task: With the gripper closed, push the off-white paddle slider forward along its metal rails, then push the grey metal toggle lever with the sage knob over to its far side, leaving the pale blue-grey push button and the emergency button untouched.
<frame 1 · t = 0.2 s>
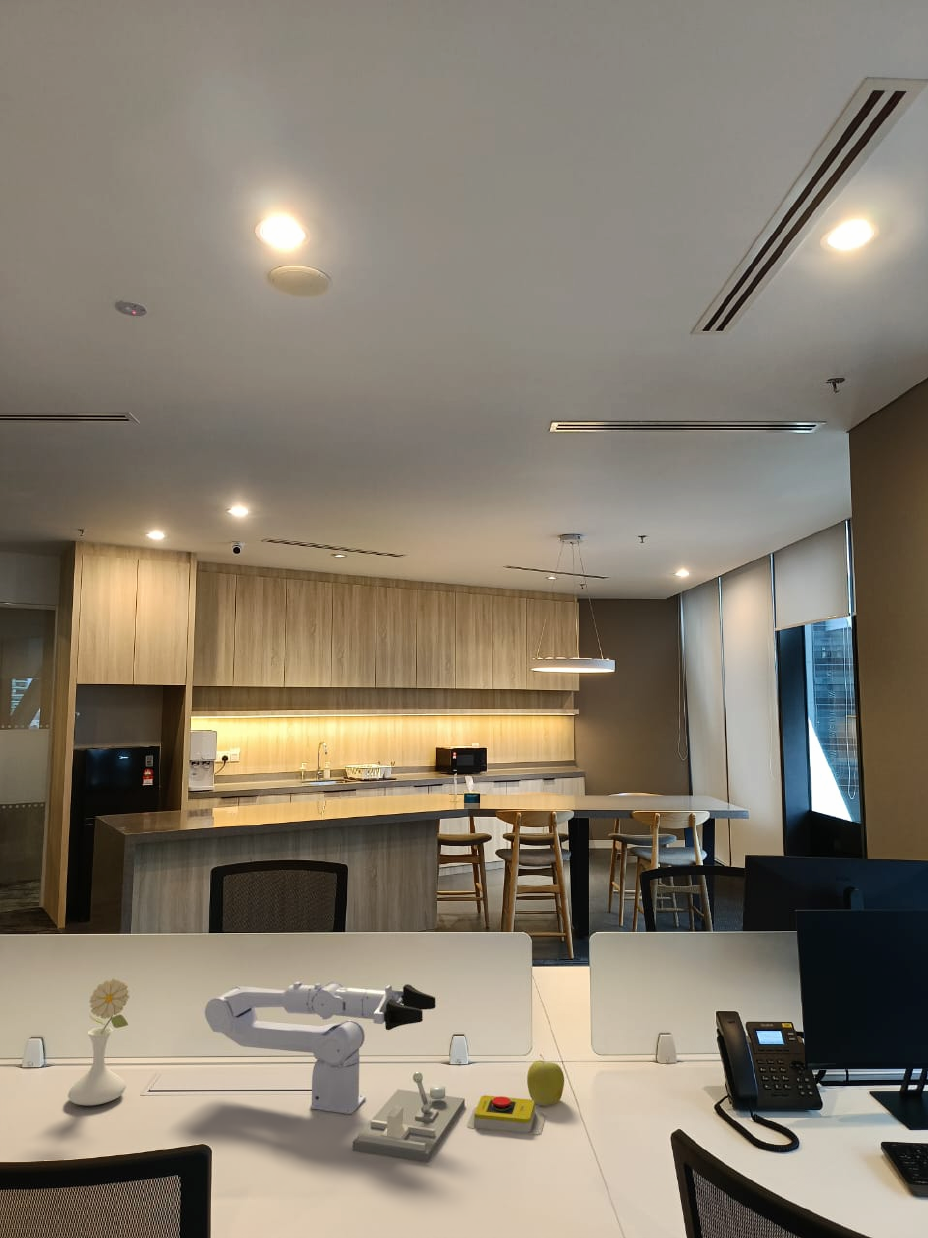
hand: (428, 1009, 177), 21 cm above the table, tool horizontal, fingers open, 7 cm apart
paddle slider: (395, 1124, 164), point 4 cm above the table, slide at 0.0 cm
flower in vase: (99, 1101, 182), on the table
apple: (545, 1103, 182), on the table
grey base plate: (411, 1127, 171), on the table
toggle lever: (422, 1092, 173), point 6 cm above the table, hinge at -20.0°
emergency button: (506, 1124, 174), on the table
push button: (437, 1092, 179), point 3 cm above the table, slide at 1.0 cm
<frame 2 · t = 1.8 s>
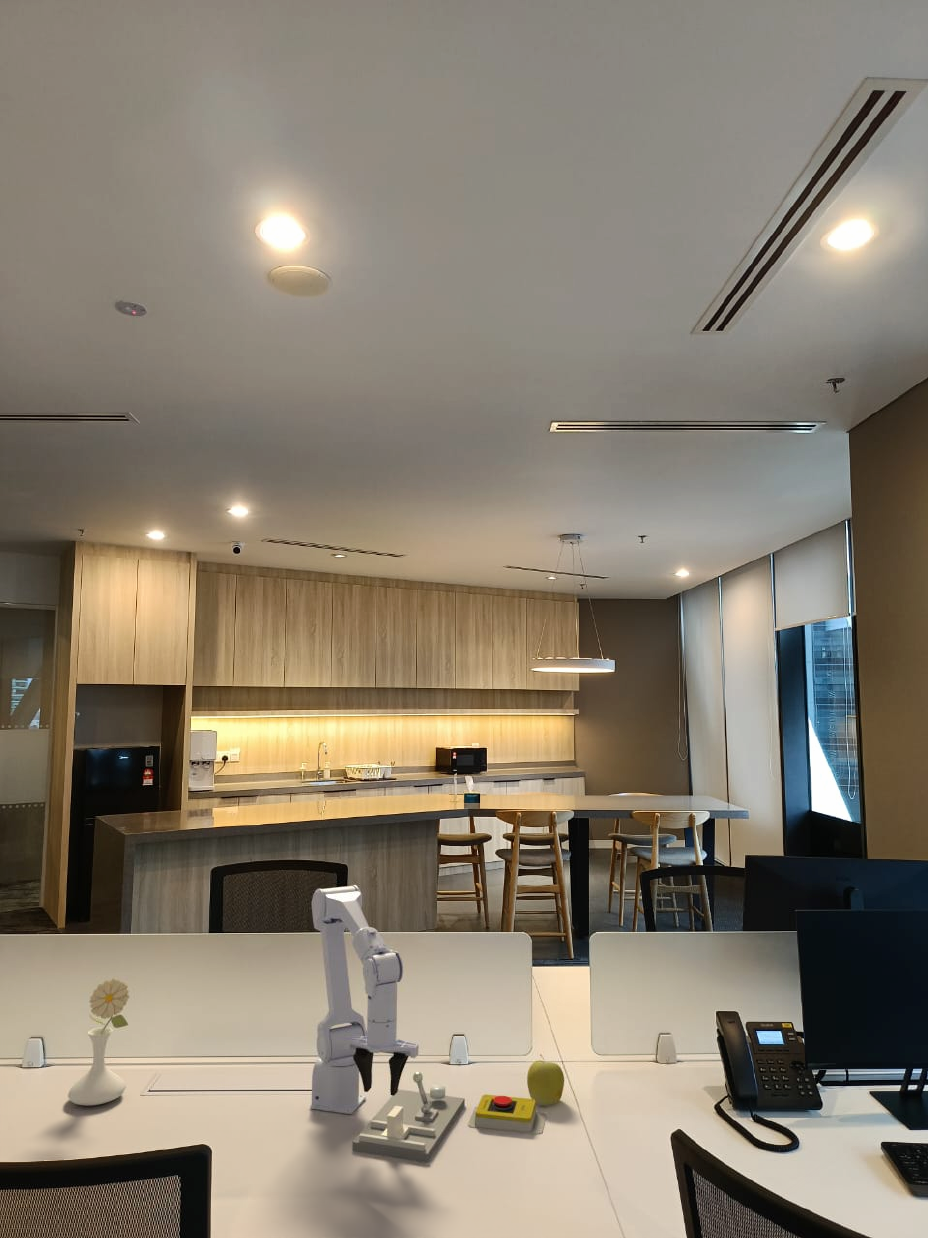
hand: (380, 1091, 165), 9 cm above the table, tool pointing down, fingers open, 5 cm apart
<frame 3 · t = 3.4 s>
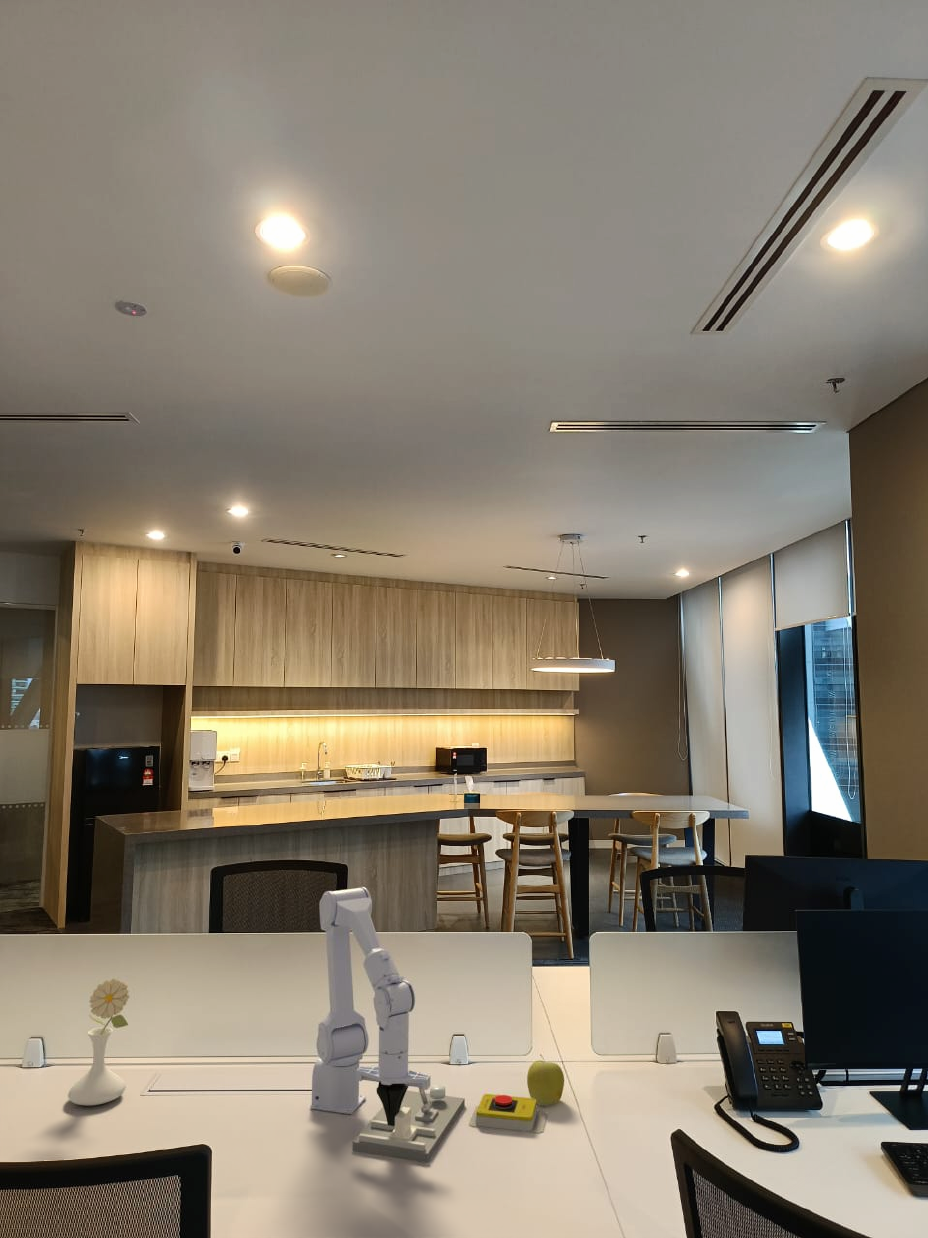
hand: (392, 1123, 164), 4 cm above the table, tool pointing down, fingers closed
paddle slider: (402, 1125, 163), point 4 cm above the table, slide at 1.6 cm, touching gripper
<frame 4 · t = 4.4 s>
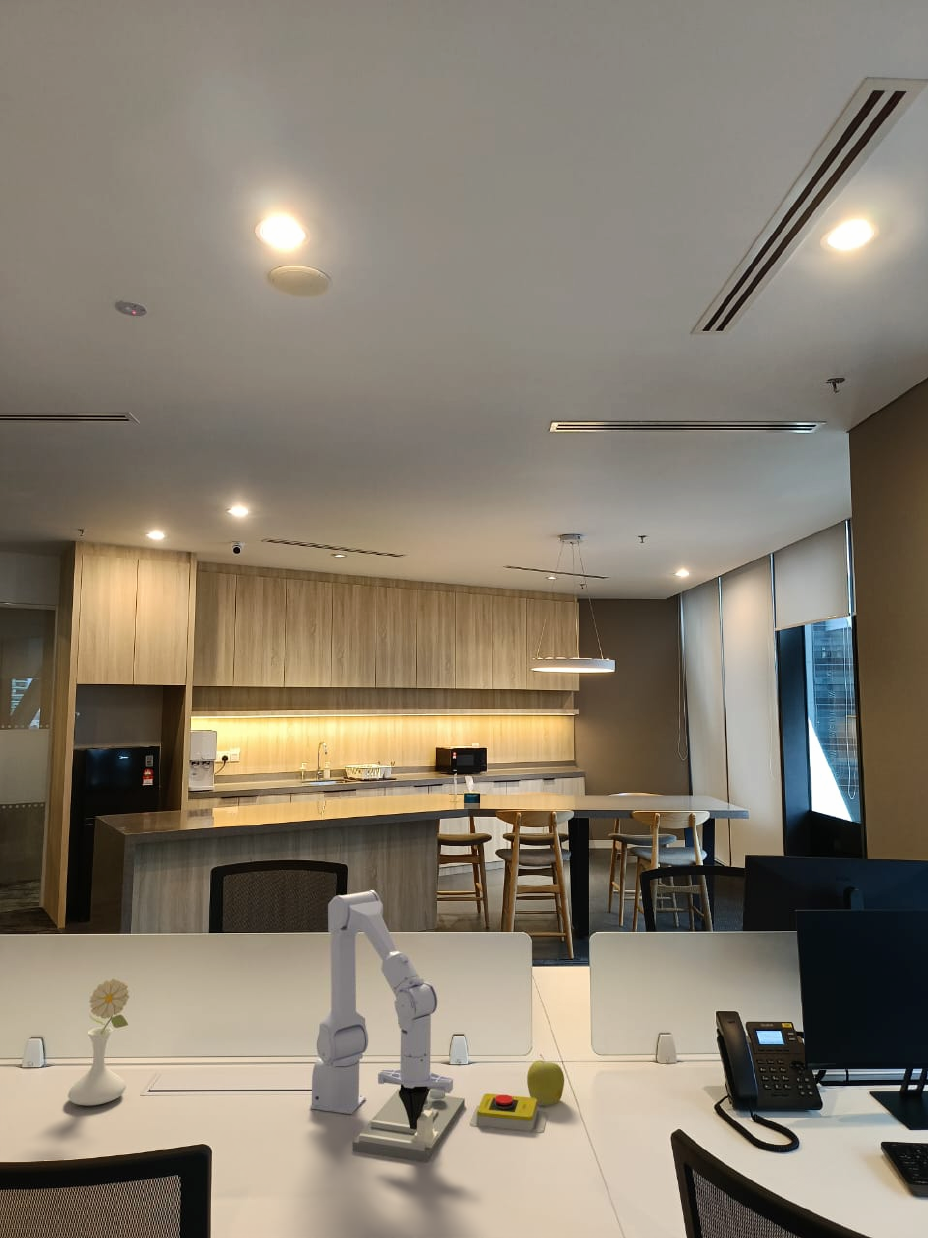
hand: (414, 1127, 163), 4 cm above the table, tool pointing down, fingers closed
paddle slider: (424, 1128, 162), point 4 cm above the table, slide at 6.0 cm, touching gripper
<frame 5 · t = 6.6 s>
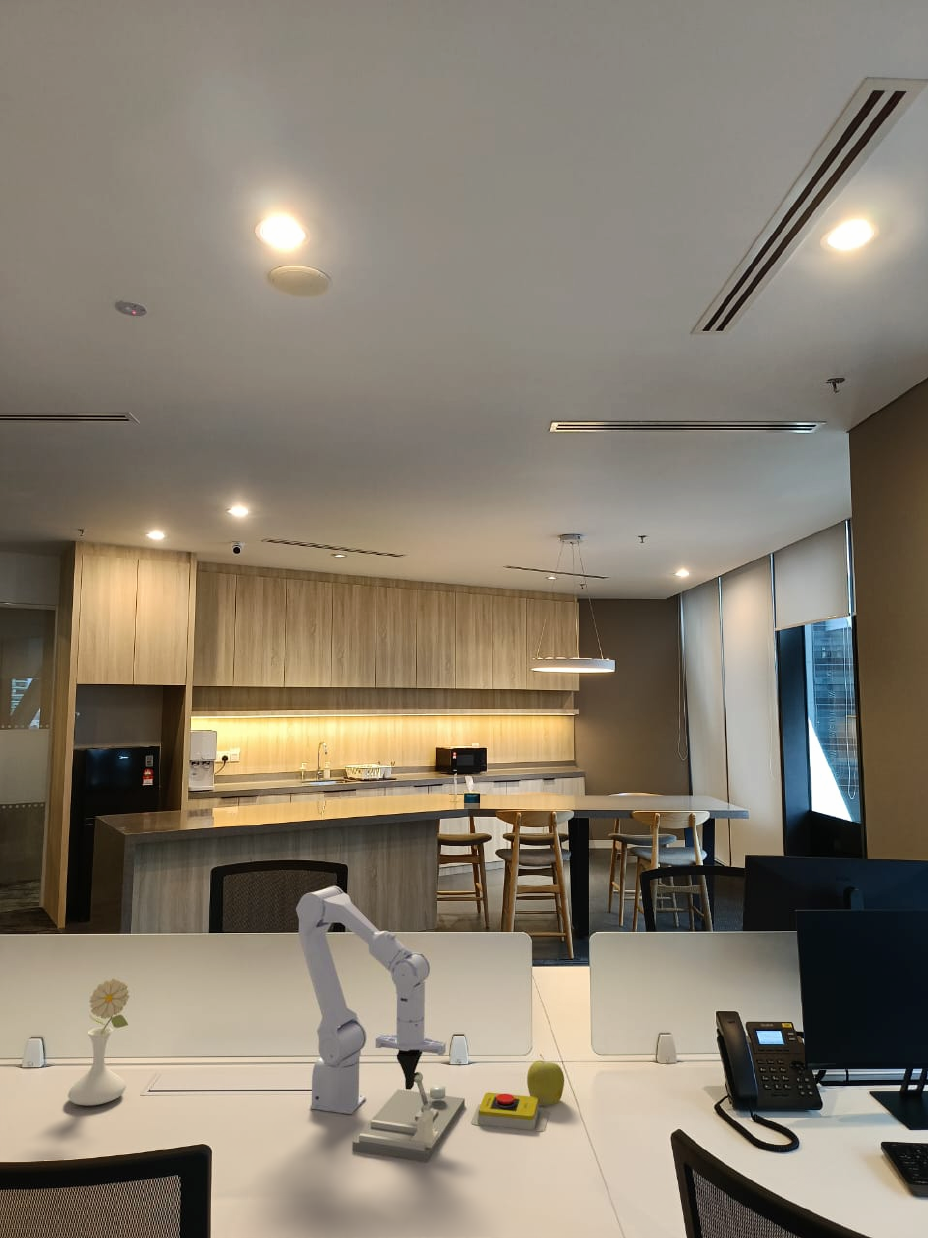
hand: (409, 1087, 174), 6 cm above the table, tool pointing down, fingers closed, pressing on toggle lever
paddle slider: (424, 1128, 162), point 4 cm above the table, slide at 6.0 cm
toggle lever: (422, 1092, 173), point 6 cm above the table, hinge at -19.7°, touching gripper
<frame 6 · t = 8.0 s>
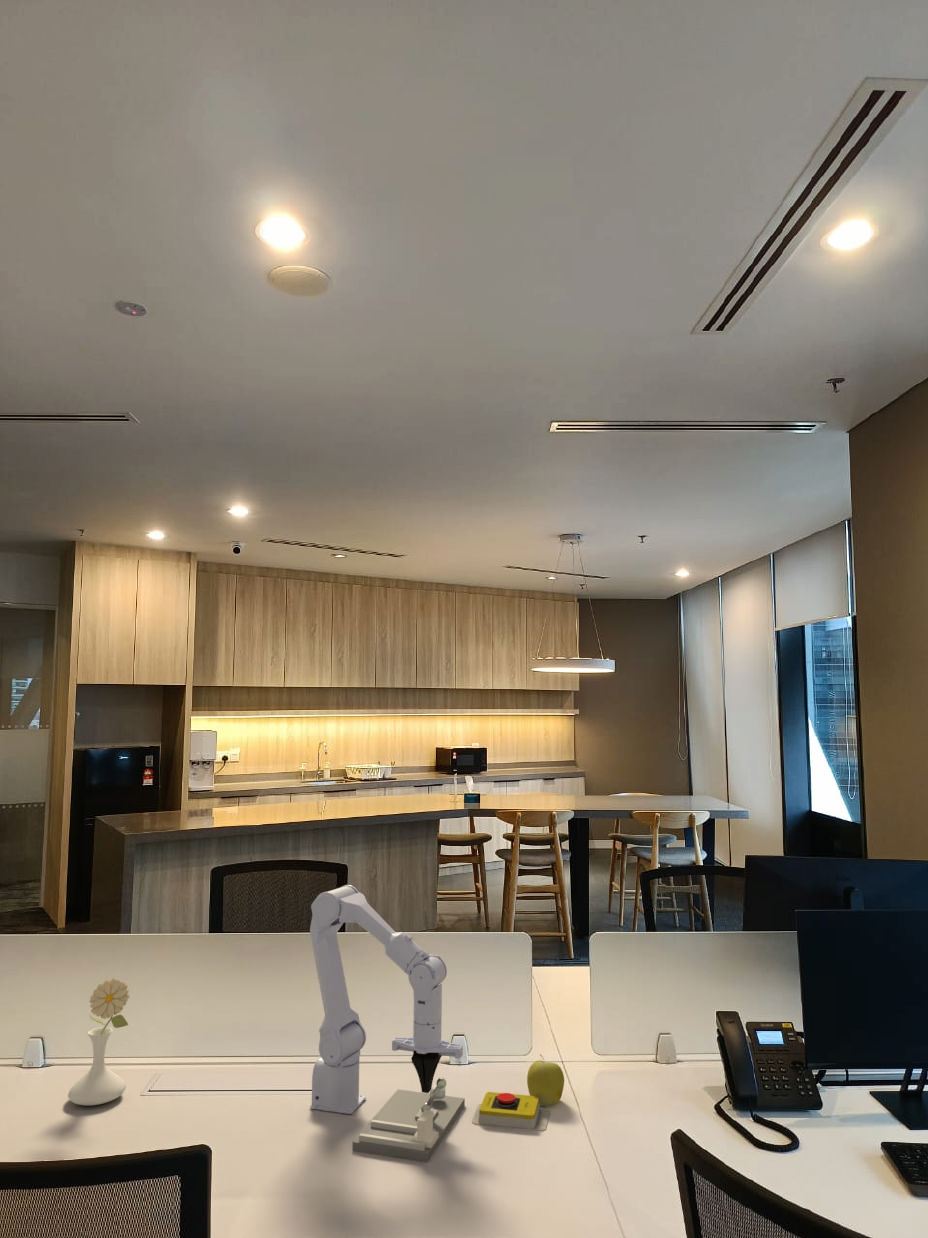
hand: (426, 1091, 173), 6 cm above the table, tool pointing down, fingers closed
toggle lever: (434, 1095, 172), point 6 cm above the table, hinge at 31.6°
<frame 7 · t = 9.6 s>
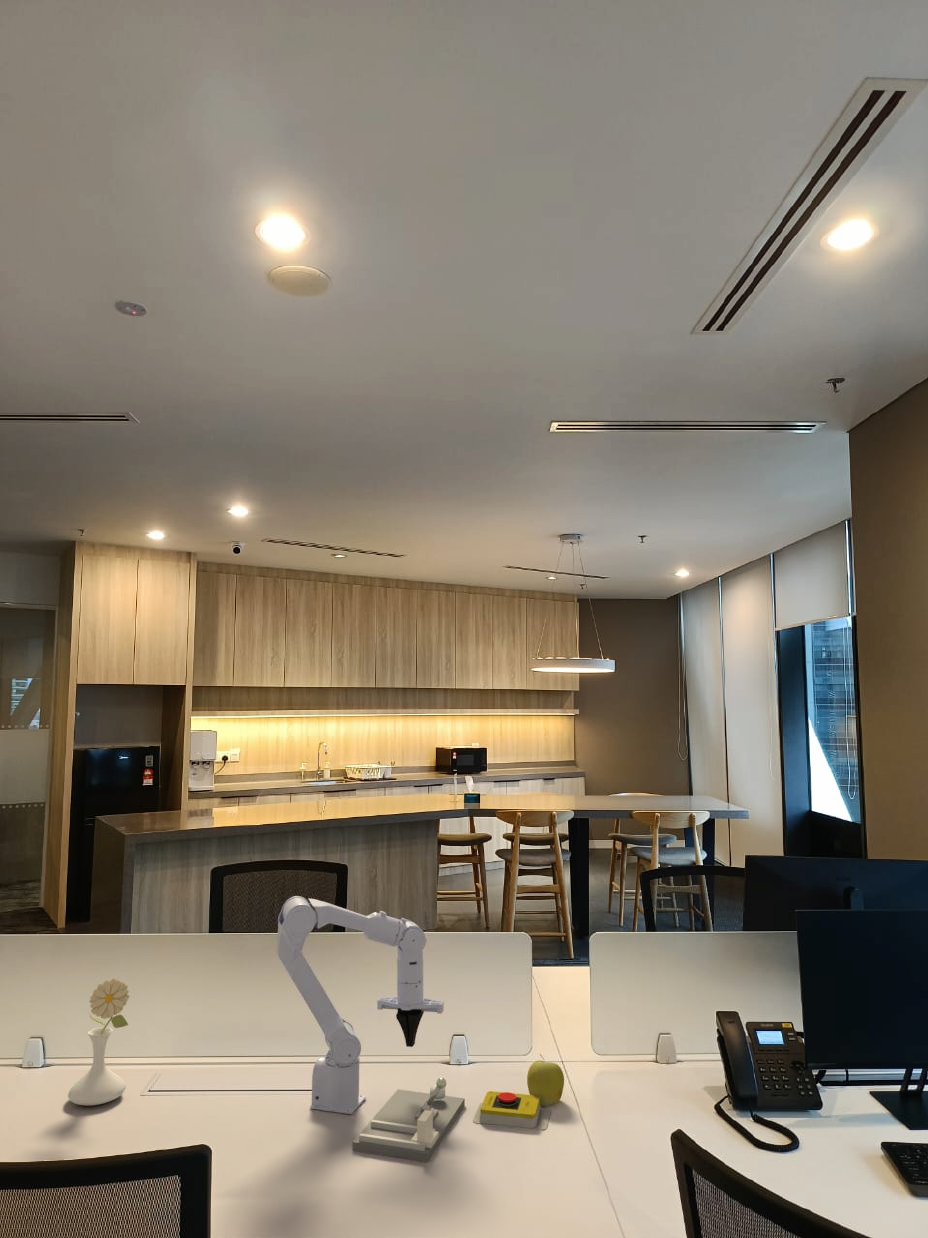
hand: (410, 1045, 186), 10 cm above the table, tool pointing down, fingers closed
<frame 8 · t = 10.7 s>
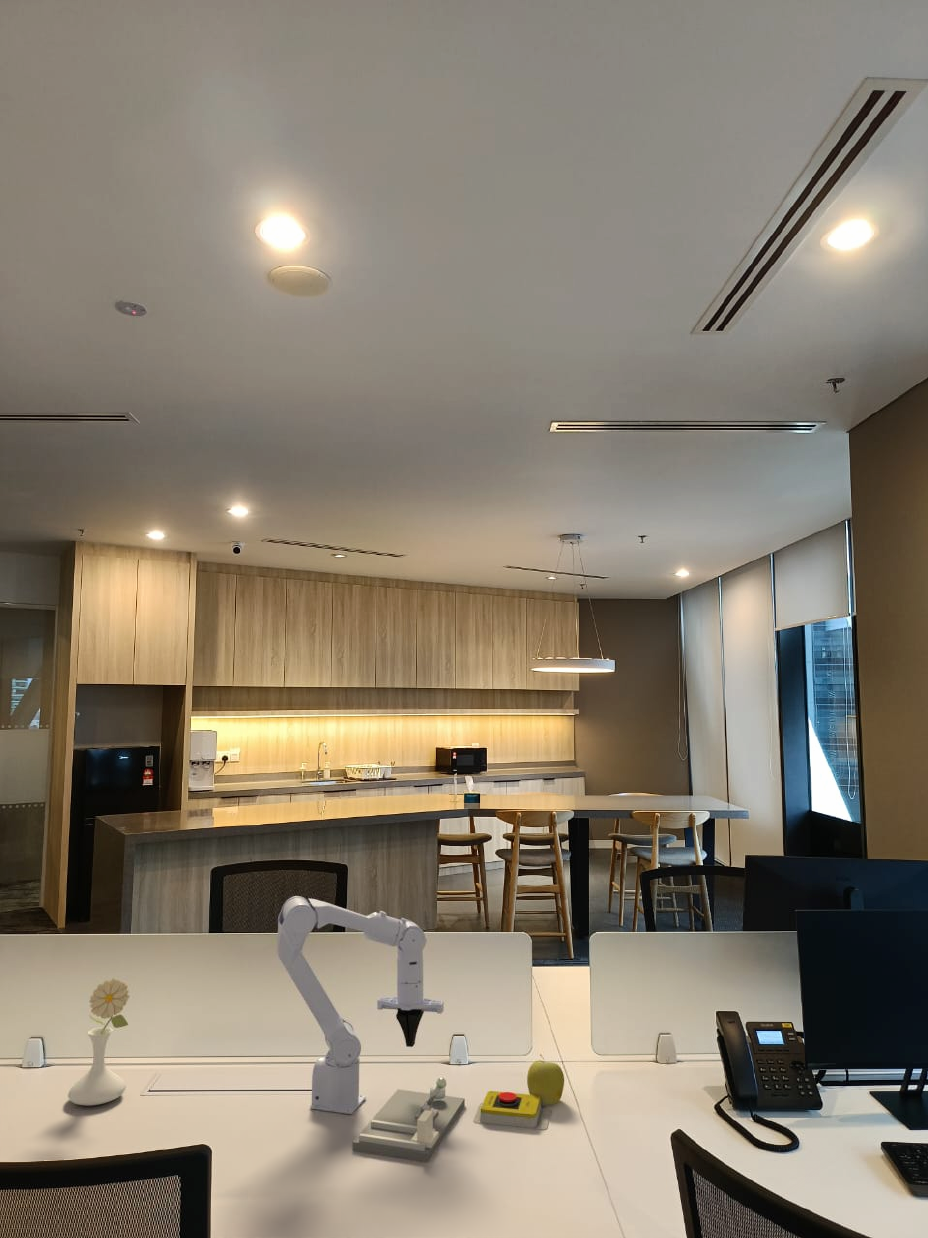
hand: (410, 1045, 186), 10 cm above the table, tool pointing down, fingers closed
at the end: paddle slider slide at 6.0 cm; toggle lever at +32° (first picture: -20°); push button slide at 1.0 cm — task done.
